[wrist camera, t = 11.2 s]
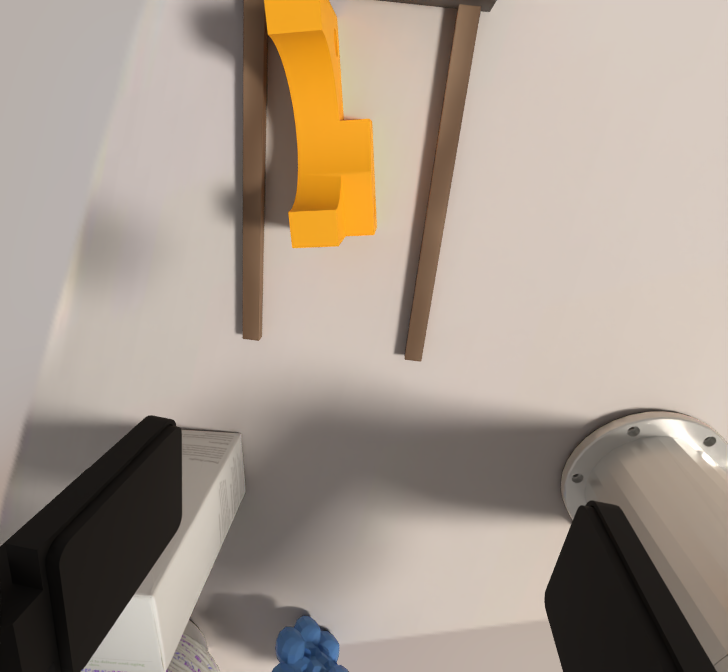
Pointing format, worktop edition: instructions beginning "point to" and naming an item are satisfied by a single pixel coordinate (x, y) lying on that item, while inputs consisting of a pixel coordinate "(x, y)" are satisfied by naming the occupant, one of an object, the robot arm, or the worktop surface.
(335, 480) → the worktop surface
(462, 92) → the rail
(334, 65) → the pipe clamp
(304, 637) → the grapes
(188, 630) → the paper bowls
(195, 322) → the worktop surface
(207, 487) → the skincare box
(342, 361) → the worktop surface
